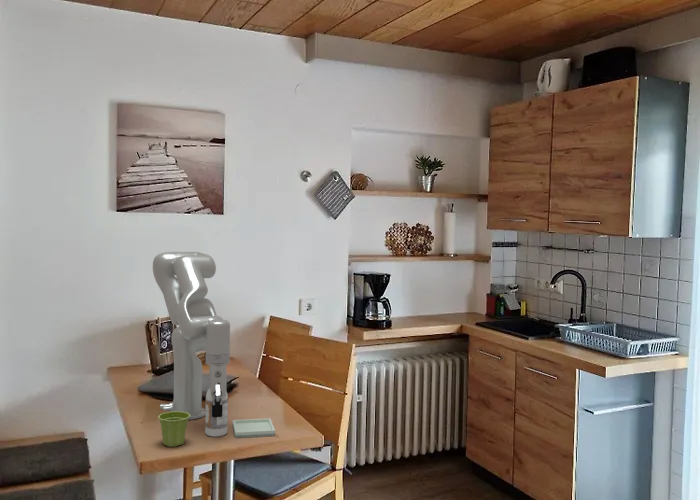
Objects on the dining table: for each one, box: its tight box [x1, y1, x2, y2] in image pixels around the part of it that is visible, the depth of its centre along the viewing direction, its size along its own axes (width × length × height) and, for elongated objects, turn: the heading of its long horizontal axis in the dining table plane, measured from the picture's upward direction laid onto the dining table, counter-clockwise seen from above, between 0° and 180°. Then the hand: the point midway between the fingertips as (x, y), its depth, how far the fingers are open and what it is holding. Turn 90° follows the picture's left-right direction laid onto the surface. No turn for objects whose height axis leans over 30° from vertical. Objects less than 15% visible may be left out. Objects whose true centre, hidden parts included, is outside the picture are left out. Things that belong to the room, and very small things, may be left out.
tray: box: [232, 417, 276, 439], centre depth 211 cm, size 13×13×2 cm
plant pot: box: [157, 411, 190, 448], centre depth 197 cm, size 9×9×9 cm
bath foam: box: [204, 373, 229, 438], centre depth 207 cm, size 7×7×20 cm
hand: (216, 412), depth 207 cm, fingers closed on bath foam, 7 cm apart
